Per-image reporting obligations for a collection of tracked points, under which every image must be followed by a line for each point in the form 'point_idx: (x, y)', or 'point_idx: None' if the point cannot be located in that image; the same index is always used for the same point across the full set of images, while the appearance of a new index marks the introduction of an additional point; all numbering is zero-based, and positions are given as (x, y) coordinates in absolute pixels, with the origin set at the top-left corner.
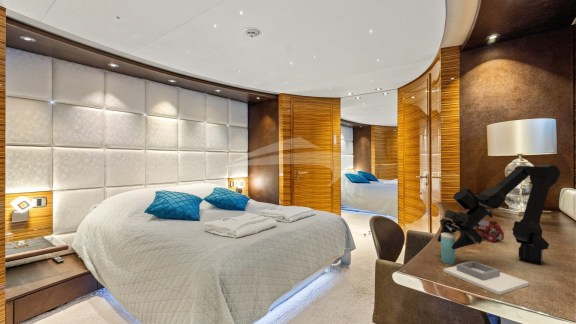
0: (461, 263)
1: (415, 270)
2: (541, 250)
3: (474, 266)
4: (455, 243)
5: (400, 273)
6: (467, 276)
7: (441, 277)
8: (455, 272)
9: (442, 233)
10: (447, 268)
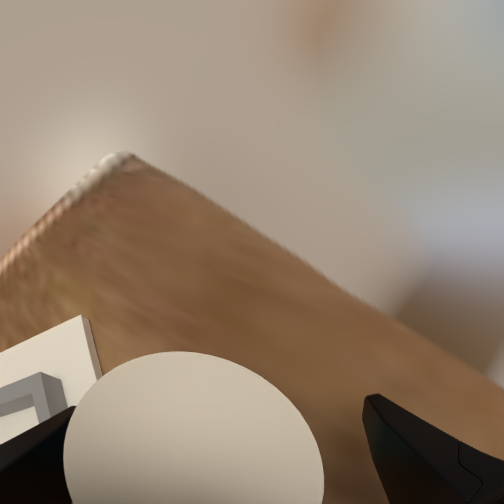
0: (48, 415)
1: (125, 201)
2: None
3: None
4: (32, 431)
5: (116, 153)
6: (6, 374)
7: (48, 276)
8: (39, 348)
9: (247, 402)
10: (80, 339)
